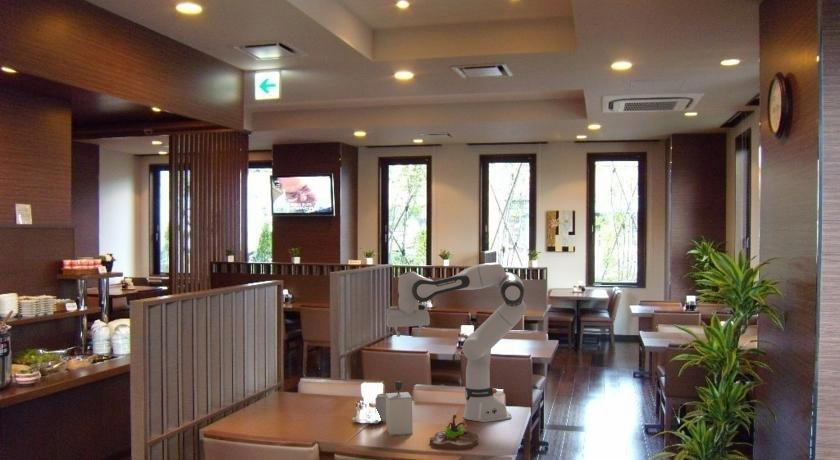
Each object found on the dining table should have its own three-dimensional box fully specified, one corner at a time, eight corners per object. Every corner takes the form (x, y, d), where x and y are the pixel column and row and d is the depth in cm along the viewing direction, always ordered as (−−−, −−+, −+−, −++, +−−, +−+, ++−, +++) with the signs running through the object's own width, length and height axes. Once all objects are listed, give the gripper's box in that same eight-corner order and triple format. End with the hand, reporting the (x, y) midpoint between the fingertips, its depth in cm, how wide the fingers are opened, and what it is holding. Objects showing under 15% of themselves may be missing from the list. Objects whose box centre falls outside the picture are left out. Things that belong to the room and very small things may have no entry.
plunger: (406, 426, 305) (405, 379, 305) (409, 431, 297) (409, 383, 297) (388, 428, 303) (388, 380, 303) (391, 433, 295) (390, 384, 295)
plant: (482, 437, 291) (481, 411, 291) (474, 451, 272) (473, 423, 272) (436, 434, 296) (436, 408, 296) (425, 448, 277) (425, 421, 277)
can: (389, 422, 314) (389, 396, 315) (374, 422, 316) (373, 396, 316) (393, 418, 322) (393, 393, 322) (378, 417, 323) (377, 392, 323)
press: (408, 427, 306) (407, 392, 306) (412, 434, 296) (412, 397, 296) (386, 429, 304) (385, 393, 304) (389, 435, 294) (389, 398, 294)
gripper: (386, 307, 314) (387, 338, 314) (430, 306, 318) (430, 335, 318) (384, 306, 321) (385, 336, 320) (427, 304, 325) (428, 334, 324)
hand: (408, 335), depth 319 cm, fingers open, 8 cm apart
